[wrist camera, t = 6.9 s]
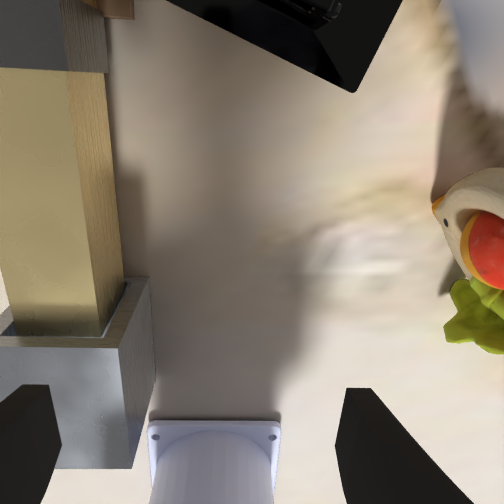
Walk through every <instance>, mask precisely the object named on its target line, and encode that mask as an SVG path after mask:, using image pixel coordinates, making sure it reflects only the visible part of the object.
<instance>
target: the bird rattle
mask: <svg viewBox="0 0 504 504" xmlns="http://www.w3.org/2000/svg"><path fill="white" fill-rule="evenodd" d="M432 211H433V213H434V215H435V217H436V218H437V220H438V221H439V223H440V224H441V226H442V229H443V231H444V234H445V237H446V240H447V242H448V245H449V247H450V249H451V251H452V253H453V255H454V257H455V259H456V261H457V262H458V264H459V266H460V267H461V269H462V271H463V272H464V274H465V275H466V277H467V278H468V280H467V279H460V280H457V281H456V282H455V283H454V284H453V286H452V288H451V290H450V295H451V298H452V300H453V302H454V304H455V306H456V308H457V310H458V312H457V314H456V315H455V316H454V317H453V318H452V319H451V320H450V321H448V322H447V323H446V324H445V325H444V332H445V336H446V341H447V342H450V343H463V342H471V341H473V342H475V343H476V344H477V345H478V346H480V347H481V348H482V349H484V350H485V351H487V352H489V353H492V354H504V168H496V167H495V168H487V169H482V170H480V171H478V172H476V173H473V174H471V175H468V176H467V177H465V178H463V179H461V180H459V181H458V182H456V183H455V184H454V185H453V186H452V187H451V188H450V189H449V190H448V192H447V193H446V194H445V195H444V196H442V197H440V198H439V199H437V200H436V201H435V202H434V203H433V205H432Z"/></svg>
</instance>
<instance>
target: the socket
mask: <svg viewBox="0 0 504 504" xmlns="http://www.w3.org/2000/svg"><path fill="white" fill-rule="evenodd" d="M97 9H99V10H100V11H102V12H103V14H104V18H117V19H132V20H134V7H133V0H97Z"/></svg>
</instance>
